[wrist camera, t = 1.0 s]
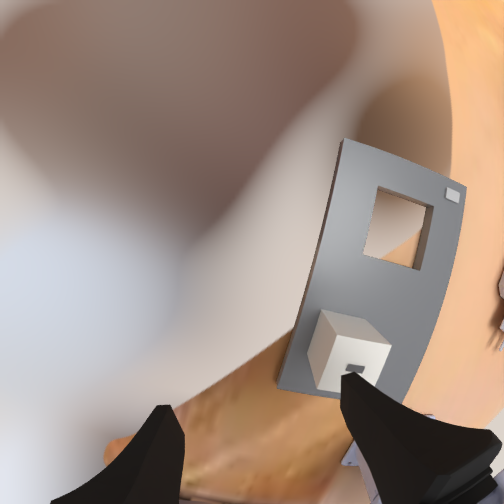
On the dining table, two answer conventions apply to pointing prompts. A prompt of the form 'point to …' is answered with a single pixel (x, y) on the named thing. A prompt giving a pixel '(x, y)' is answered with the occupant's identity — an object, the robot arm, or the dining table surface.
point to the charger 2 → (503, 293)
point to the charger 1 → (345, 350)
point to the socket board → (377, 266)
